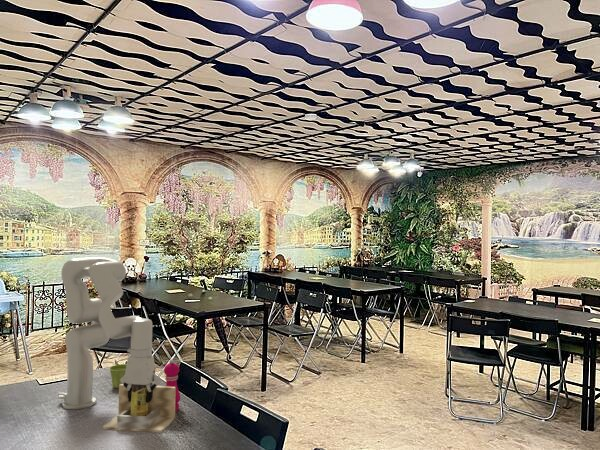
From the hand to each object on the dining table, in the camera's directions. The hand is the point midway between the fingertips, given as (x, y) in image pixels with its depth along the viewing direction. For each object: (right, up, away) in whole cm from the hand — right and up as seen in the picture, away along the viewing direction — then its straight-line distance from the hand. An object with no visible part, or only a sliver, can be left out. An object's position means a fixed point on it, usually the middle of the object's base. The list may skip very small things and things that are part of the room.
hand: (140, 400), depth 173 cm
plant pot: (-24, -9, +42) cm, 49 cm away
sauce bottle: (0, -7, 0) cm, 7 cm away
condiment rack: (0, -8, 0) cm, 8 cm away
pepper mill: (+8, -9, +14) cm, 18 cm away
